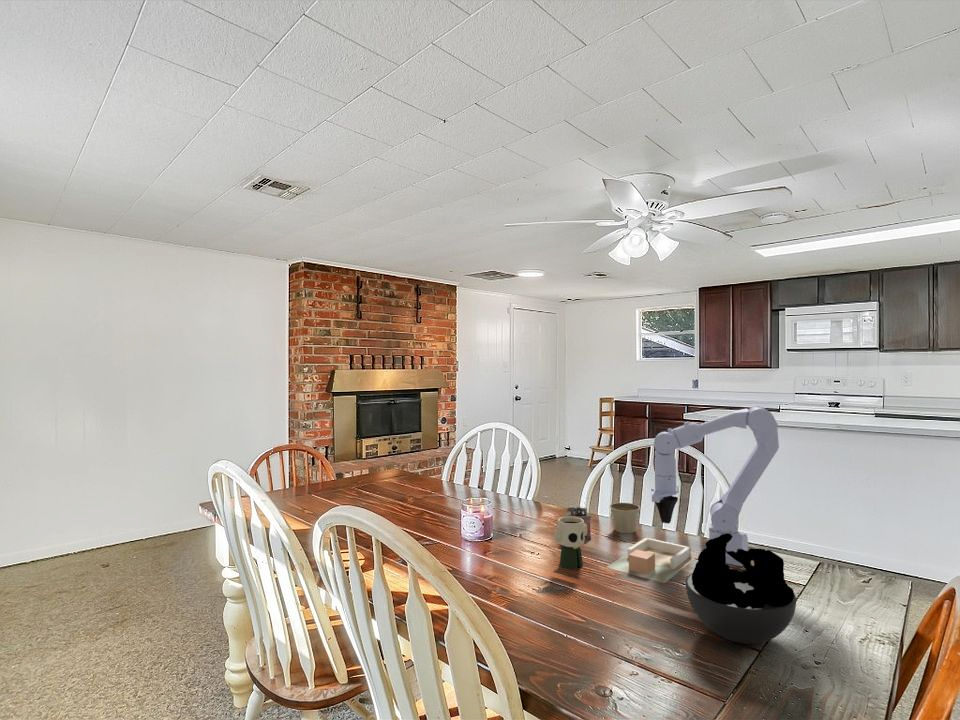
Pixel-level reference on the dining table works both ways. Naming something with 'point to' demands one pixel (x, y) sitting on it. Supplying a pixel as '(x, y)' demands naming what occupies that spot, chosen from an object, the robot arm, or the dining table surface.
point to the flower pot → (624, 517)
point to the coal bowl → (741, 593)
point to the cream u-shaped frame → (679, 550)
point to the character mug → (570, 541)
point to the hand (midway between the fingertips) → (666, 522)
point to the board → (661, 566)
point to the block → (642, 562)
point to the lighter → (584, 516)
